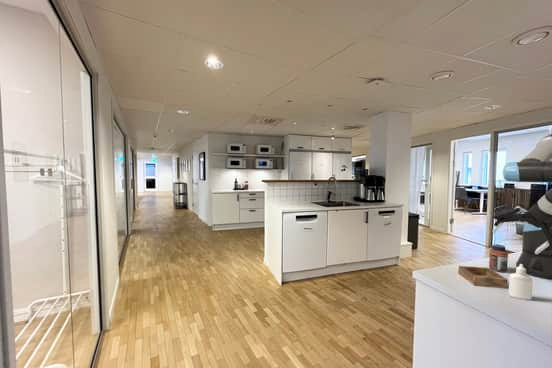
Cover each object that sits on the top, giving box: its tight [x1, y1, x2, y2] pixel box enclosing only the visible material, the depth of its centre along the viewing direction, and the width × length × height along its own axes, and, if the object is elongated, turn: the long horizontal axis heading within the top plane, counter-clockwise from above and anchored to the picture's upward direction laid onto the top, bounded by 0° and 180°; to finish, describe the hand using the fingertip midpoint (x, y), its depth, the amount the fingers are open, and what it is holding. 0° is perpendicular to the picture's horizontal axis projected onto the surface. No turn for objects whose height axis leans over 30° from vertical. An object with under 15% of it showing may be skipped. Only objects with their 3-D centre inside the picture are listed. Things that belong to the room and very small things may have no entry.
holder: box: [457, 265, 509, 289], centre depth 95 cm, size 11×11×4 cm
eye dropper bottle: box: [508, 264, 533, 301], centre depth 82 cm, size 4×6×12 cm
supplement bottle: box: [488, 243, 509, 273], centre depth 105 cm, size 6×6×11 cm
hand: (514, 240), depth 93 cm, fingers open, 13 cm apart
